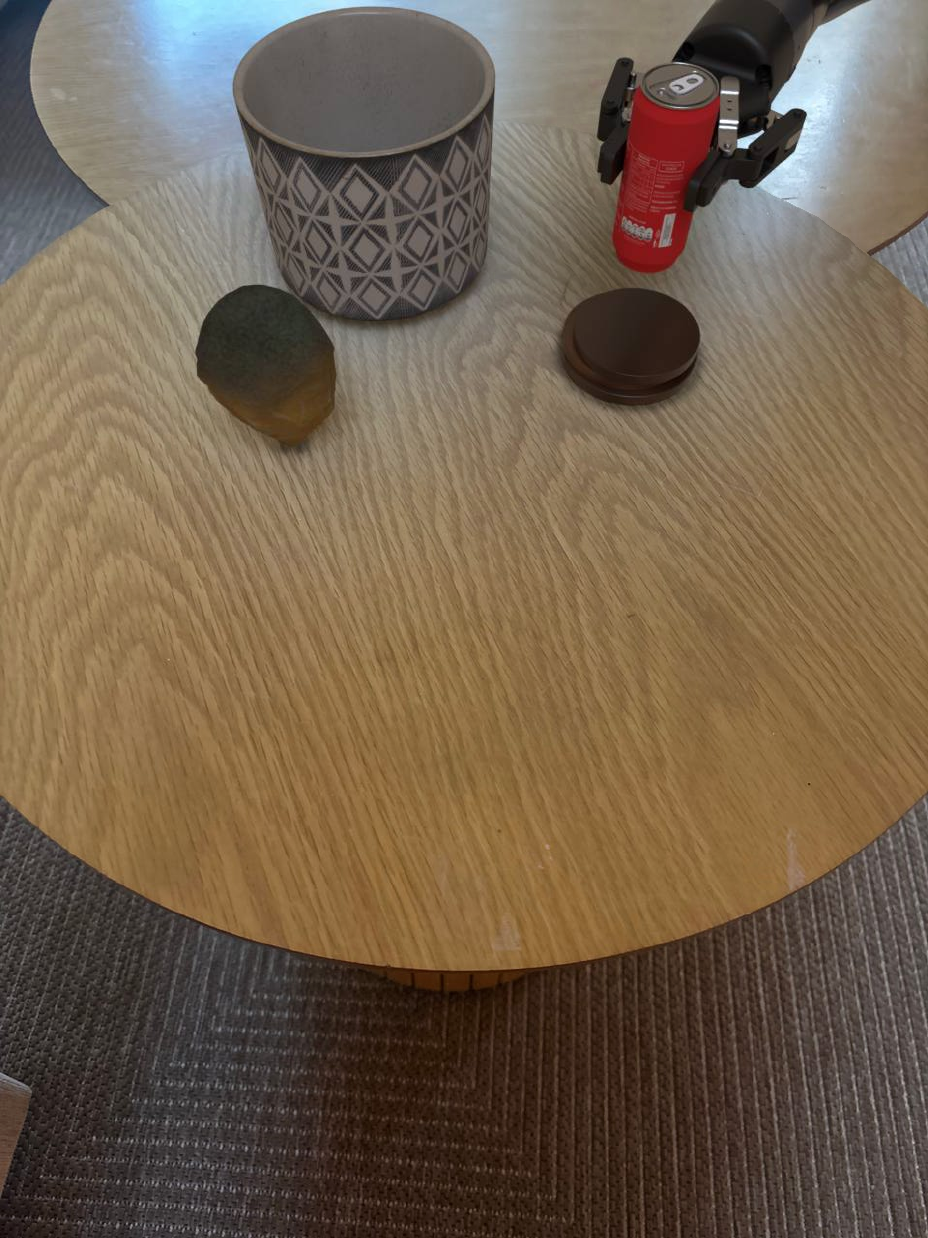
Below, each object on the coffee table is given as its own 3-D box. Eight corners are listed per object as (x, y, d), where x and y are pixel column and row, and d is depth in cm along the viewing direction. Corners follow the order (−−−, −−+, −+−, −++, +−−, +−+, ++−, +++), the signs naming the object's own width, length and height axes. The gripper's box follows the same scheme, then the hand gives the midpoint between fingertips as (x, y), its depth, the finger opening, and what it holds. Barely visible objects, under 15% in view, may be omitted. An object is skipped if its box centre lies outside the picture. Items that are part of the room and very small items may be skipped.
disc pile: (702, 321, 75) (710, 293, 73) (685, 417, 70) (694, 389, 67) (574, 300, 77) (577, 271, 74) (548, 391, 71) (551, 364, 69)
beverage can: (595, 247, 64) (618, 78, 53) (649, 219, 65) (683, 49, 55) (642, 288, 62) (676, 120, 51) (697, 258, 63) (741, 89, 53)
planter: (489, 342, 74) (492, 157, 60) (261, 338, 75) (210, 153, 60) (493, 196, 84) (497, 6, 69) (291, 193, 84) (253, 4, 70)
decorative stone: (350, 412, 70) (322, 252, 57) (351, 473, 68) (322, 318, 54) (228, 421, 70) (172, 261, 57) (224, 482, 67) (164, 328, 54)
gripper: (660, -33, 62) (551, 94, 55) (861, 21, 58) (773, 163, 51) (642, 77, 68) (543, 202, 61) (822, 130, 65) (739, 270, 58)
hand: (648, 184), depth 56 cm, fingers closed on beverage can, 5 cm apart
